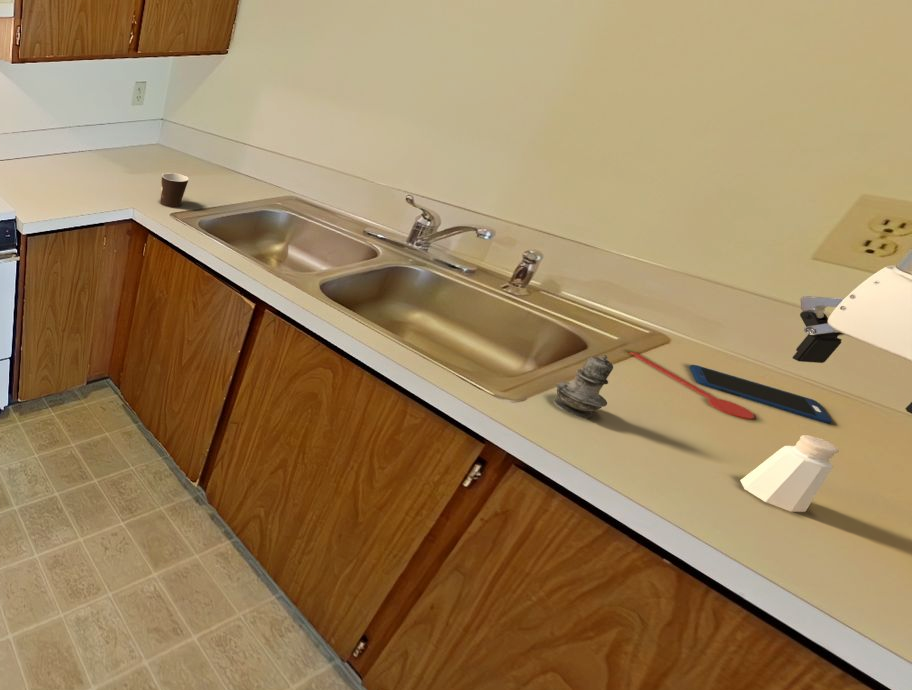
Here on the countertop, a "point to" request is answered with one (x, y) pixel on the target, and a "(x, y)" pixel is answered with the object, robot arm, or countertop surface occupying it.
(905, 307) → the robot arm
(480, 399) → the countertop surface
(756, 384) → the cell phone
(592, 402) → the grey chess piece
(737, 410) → the spoon
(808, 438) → the pepper shaker
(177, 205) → the coffee mug
